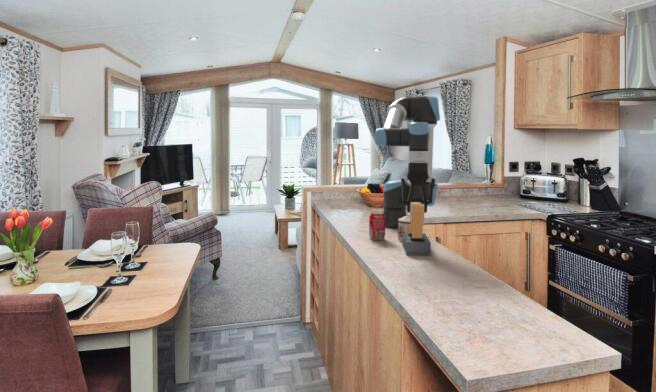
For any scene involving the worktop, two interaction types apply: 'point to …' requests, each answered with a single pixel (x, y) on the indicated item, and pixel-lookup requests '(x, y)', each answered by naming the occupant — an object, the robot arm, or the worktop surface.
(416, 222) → the peach eraser-shaped slab
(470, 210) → the worktop surface
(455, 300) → the worktop surface
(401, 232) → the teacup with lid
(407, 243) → the gray slotted block
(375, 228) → the soda can
